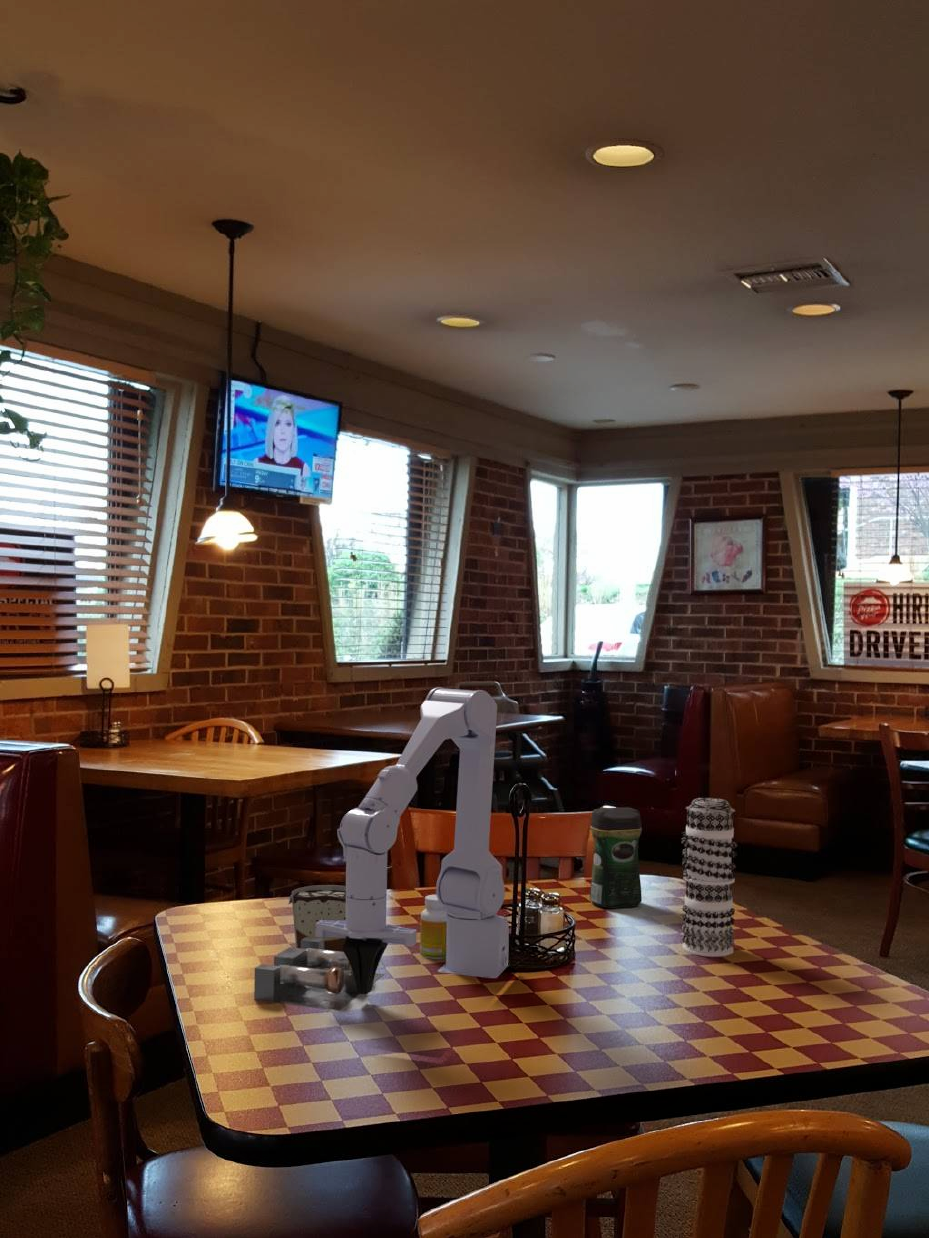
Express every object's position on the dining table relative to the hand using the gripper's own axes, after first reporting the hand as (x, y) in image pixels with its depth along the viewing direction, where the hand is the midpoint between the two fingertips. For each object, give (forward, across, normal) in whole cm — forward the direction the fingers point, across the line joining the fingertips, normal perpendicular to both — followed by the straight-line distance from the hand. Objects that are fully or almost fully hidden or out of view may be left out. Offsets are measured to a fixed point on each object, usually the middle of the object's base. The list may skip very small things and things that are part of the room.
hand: (364, 991), depth 163 cm
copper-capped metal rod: (+1, -9, 0) cm, 9 cm away
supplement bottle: (+2, +2, +26) cm, 26 cm away
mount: (+2, -9, +4) cm, 10 cm away
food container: (+2, -16, +24) cm, 29 cm away
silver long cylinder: (+1, -9, +9) cm, 12 cm away
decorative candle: (+2, +43, +46) cm, 63 cm away
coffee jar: (+2, +23, +71) cm, 75 cm away
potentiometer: (+2, -4, +4) cm, 6 cm away
